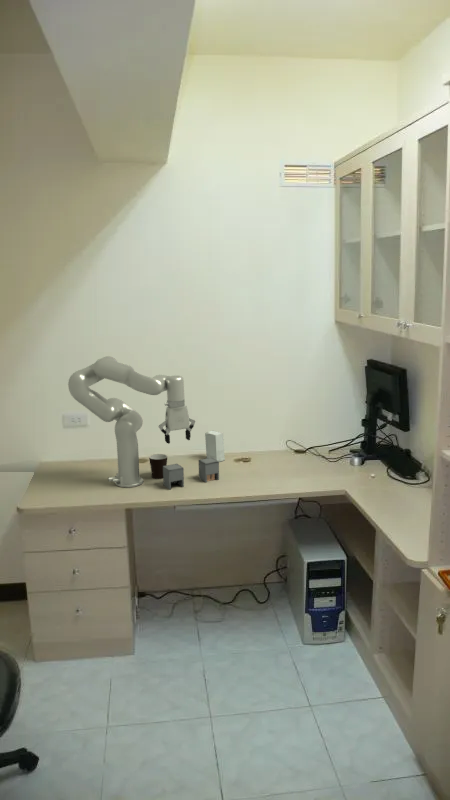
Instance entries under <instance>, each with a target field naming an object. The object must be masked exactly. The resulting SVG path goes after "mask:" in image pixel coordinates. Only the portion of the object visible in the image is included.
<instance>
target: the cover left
mask: <svg viewBox="0 0 450 800" xmlns="http://www.w3.org/2000/svg"><path fill="white" fill-rule="evenodd" d="M184 471H185V469H184V467H183V466H181V465H180V464H178V463H173V464H167V465H166V466H163V479H162V481H163V486H164V487H165V488H167V489H168V490H170V491H171V490H172V485H174V484H177V485H179V486H181V487H182V488H184V487H185V481H184V480H185V475H184Z"/></svg>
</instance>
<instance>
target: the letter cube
mask: <svg viewBox="0 0 450 800" xmlns="http://www.w3.org/2000/svg"><path fill="white" fill-rule="evenodd" d="M214 480H216V479H215V474H210V475H207V482H209V481H211V482H212V481H214Z"/></svg>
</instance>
